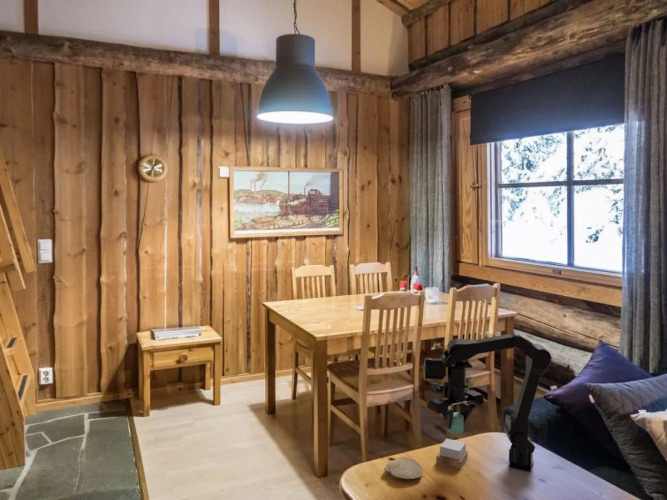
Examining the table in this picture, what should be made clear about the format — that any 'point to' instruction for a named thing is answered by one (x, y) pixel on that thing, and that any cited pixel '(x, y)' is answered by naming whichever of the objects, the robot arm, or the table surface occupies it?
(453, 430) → the teal cylinder
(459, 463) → the walnut base
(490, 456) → the table surface
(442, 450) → the grey block
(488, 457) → the table surface
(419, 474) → the seashell
